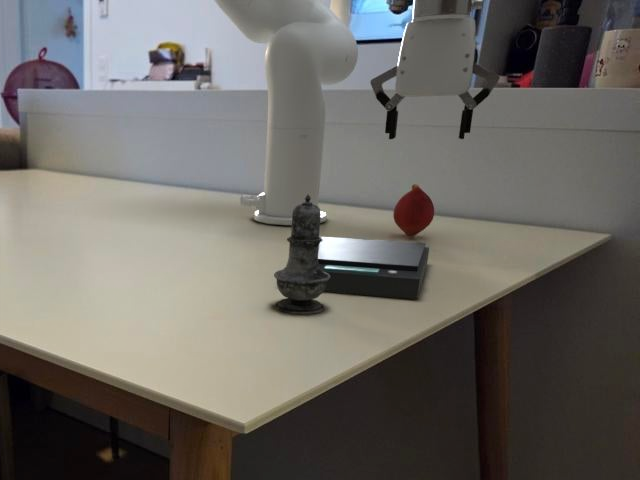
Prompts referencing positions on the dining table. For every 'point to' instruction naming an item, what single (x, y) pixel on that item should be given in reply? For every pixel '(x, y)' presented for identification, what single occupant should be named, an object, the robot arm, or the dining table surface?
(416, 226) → the onion
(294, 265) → the salt shaker
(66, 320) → the dining table surface
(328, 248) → the scale
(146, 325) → the dining table surface
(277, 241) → the dining table surface
